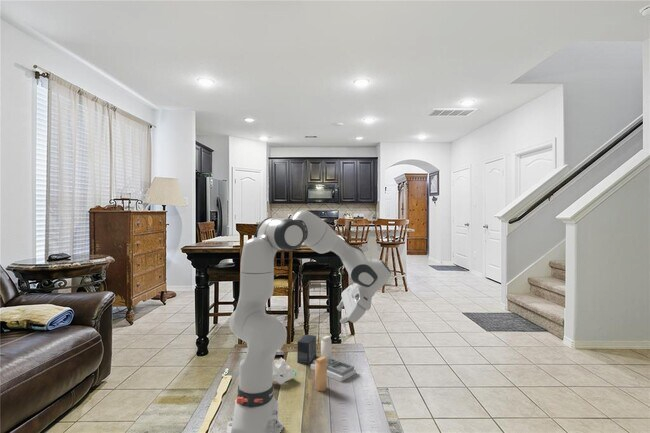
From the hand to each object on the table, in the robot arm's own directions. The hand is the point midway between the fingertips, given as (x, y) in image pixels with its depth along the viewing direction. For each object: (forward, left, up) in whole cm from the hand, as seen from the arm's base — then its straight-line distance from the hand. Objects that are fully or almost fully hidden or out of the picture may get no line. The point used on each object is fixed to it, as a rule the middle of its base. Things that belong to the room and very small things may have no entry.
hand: (339, 315), depth 151 cm
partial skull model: (0, +25, -29) cm, 38 cm away
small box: (+22, +15, -29) cm, 39 cm away
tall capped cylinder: (-6, +7, -29) cm, 30 cm away
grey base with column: (+10, +2, -29) cm, 30 cm away
